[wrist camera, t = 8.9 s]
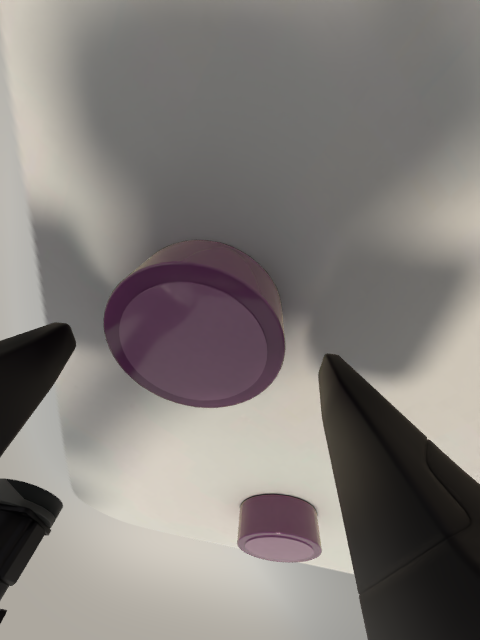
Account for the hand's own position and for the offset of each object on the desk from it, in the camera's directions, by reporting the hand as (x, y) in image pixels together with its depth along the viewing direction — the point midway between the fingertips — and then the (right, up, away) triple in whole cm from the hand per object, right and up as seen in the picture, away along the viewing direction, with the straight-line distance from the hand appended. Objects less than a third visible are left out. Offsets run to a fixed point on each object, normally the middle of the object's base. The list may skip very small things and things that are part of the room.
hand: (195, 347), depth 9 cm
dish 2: (+5, -15, +12) cm, 20 cm away
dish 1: (0, +1, +2) cm, 2 cm away
